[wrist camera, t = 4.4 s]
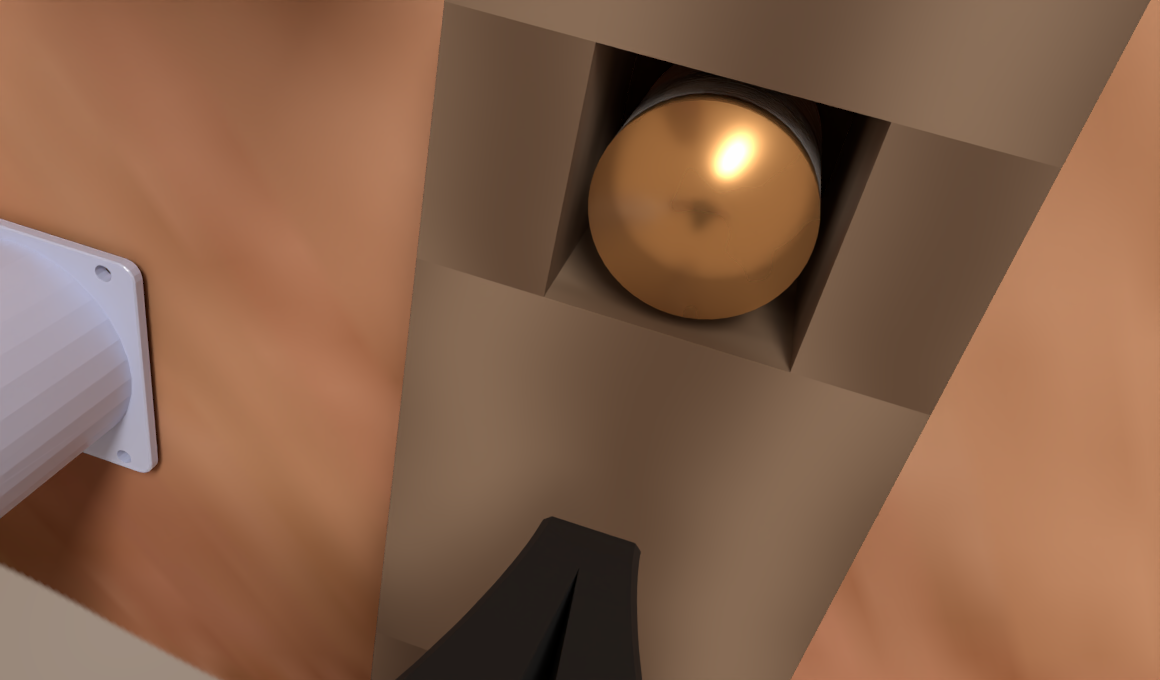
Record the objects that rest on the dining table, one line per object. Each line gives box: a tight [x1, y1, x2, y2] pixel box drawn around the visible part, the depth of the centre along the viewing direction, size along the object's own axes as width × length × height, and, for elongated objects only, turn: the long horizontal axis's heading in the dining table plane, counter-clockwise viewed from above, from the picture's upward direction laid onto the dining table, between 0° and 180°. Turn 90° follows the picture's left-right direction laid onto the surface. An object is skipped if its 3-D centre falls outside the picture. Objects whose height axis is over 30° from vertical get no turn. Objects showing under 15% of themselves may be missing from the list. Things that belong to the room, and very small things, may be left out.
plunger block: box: [371, 0, 1150, 680], centre depth 21 cm, size 10×26×5 cm, turn 168°
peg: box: [588, 64, 822, 319], centre depth 17 cm, size 4×4×4 cm
